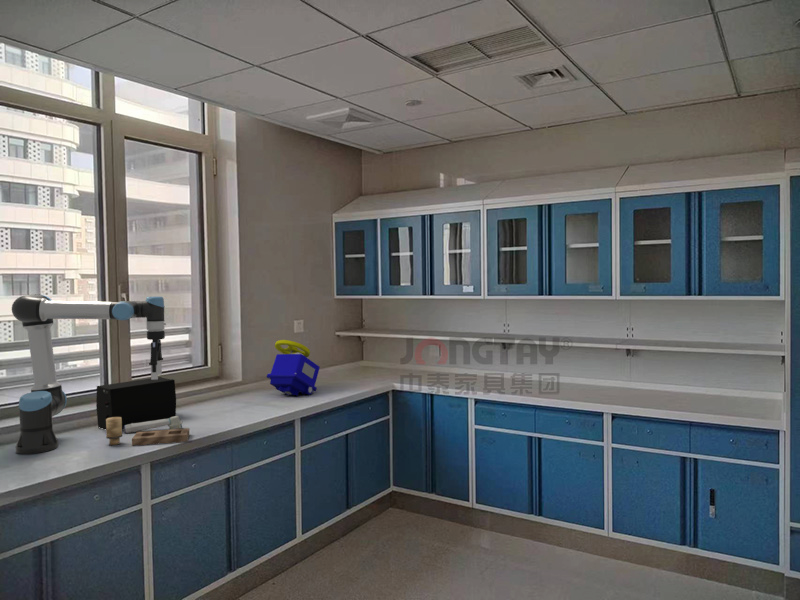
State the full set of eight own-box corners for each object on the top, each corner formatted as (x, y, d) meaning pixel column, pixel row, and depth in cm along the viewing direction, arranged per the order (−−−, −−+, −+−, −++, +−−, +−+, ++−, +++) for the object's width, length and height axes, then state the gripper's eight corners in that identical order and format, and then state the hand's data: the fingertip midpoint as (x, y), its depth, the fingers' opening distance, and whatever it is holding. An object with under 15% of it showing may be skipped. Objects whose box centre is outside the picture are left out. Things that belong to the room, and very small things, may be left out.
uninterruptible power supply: (176, 419, 299) (175, 379, 298) (108, 433, 273) (107, 390, 272) (160, 414, 309) (159, 376, 309) (93, 427, 284) (92, 386, 283)
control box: (287, 386, 338) (302, 338, 351) (253, 385, 351) (268, 340, 365) (313, 402, 357) (326, 356, 370) (279, 401, 370) (293, 357, 384)
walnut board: (132, 445, 251) (131, 438, 251) (137, 438, 262) (137, 431, 262) (186, 441, 256) (186, 434, 256) (189, 434, 268) (189, 428, 268)
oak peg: (105, 446, 251) (104, 420, 250) (108, 442, 257) (107, 417, 256) (120, 445, 252) (120, 419, 252) (123, 441, 258) (123, 416, 258)
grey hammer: (124, 423, 275) (181, 412, 282) (127, 437, 276) (183, 426, 282) (122, 426, 270) (180, 414, 277) (125, 440, 271) (182, 428, 277)
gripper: (161, 332, 258) (162, 381, 258) (167, 328, 282) (168, 372, 282) (142, 333, 256) (143, 381, 256) (150, 328, 280) (151, 373, 280)
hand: (156, 377), depth 269 cm, fingers open, 13 cm apart
